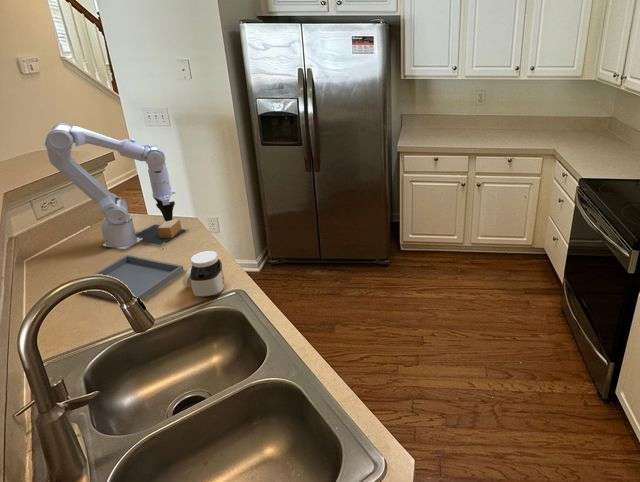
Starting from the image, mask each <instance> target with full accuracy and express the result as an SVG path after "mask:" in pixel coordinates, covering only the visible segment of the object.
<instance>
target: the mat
mask: <svg viewBox="0 0 640 482" xmlns="http://www.w3.org/2000/svg"><path fill="white" fill-rule="evenodd" d="M160 225H161V224H160ZM160 225H159V224H153V225H151V226H149V227H148V228H147V227H146V229H144V230H142V231H140V232H137V233H136V237H138V238H139V239H141V238H143V239H142V240H139V242H141V243H148V244H151V245H152V244H153V245H156V246H157V245H158V246H161V245H163V244H164V243H166V244H167V243H169V242H171V241H172V240H173V239H174V240H175V238H177V237H179V236H180V235H182V234H183V233H186V229H184V228H183V229H181V230H180V231H179V232H178V233H177V234H176V235H175V236H174V237H172V238H159V233H158V227H159V226H160ZM138 238H137V239H138Z"/></svg>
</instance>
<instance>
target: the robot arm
mask: <svg viewBox="0 0 640 482" xmlns="http://www.w3.org/2000/svg"><path fill="white" fill-rule="evenodd" d="M74 144H75V147H80V146H84V145H87V144H89V145H93V146H97V147H101V148H105V149H109V150H114V151H117V152H118V154H119V155H120V156H121V157H125V158H129V159H132V160H135V161H140V162H145V163H146V165H147V167H148V169H147V173H148V176H149V182H150V187H151V191H152V198H153V200H155V202H156V203H155V206H156V208H157V209H158V210H159V211H160V212H161V215H162V217H163V219H164V222H165V221H171V220H172V219H173V212H174V207H175V205H176V202H175V200H172V201H170V198H171V197H172V195H174V194H176V190H175V189H172V187H171V181H170V177H169V171H168V167H167V162H166V157H165V152H164V150H163V148H161V147H160V146H158V145H152V144H150V143H147V144H145V143H141V142H139V141H136V139H135V138H129V139H128V138H125V139H123V140H119V139H115V138H113V137H110V136H106V135H104V134H101V133H98V132H95V131H92V130H89V129H86V128H84V127H80V126H77V125H73V126H72V125H71V124H68V123H58V124H56V125H54V126H53V127H52V129H51V130H50V131H49V132H48V133H47V134H46V137H45V142H44V146H45V148H46V153H47V155H48V161H49V163H50V164H51V165H52V166H53V167H54V168H55V169H57V170H58V171H59V172H60V173H61V174H62V175H63V176H64V177H65V178H67V180H68V181H70V182H72V184H73V185H75V187H77V188H78V189H79V190H80V191H82V192H83V194H85V195H86V196H87V197H88V198H89V199H91V201H93V202H94V203H95V204H96V205H97V207H98V209H99V211H100V212H101V213H102V214H103V215H104V217H105V219H104V221H103V222H102V223H101V228H100V229H101V232H102V236H103V240H104V243H103V245H102V246H103V247H107V248H111V249H112V248H116V249H121V250H126V249H128V248H130V247H131V246H134V245H135V244H136V243H138V242H140V241H139V240H142V239H143V238H141V239H139V238H138V237H136V234H137V233H136V229H135V225H134V221H133V217H132V215H131V214H129V208H130V204H129V202H128V201H127V200H126V199H124V198H121V197H119V196H117V195H116V194H115V193H113V192H110V191H109V190H108V189H107V188H106V187H105V186H103V185H102V184H101V183H100V182H99V181H98V180H97V179H96V178H95V177H93V176H92V175H91V174H90V173H89V172H88V171H87V170H86V169H85V168H84V167H82V165H80V164H79V163H78V162H77V161H76V160H75V159H74V158H73V157H72V156H71V155H72V149H73V145H74ZM137 238H138V239H137Z"/></svg>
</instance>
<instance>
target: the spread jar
mask: <svg viewBox="0 0 640 482" xmlns="http://www.w3.org/2000/svg"><path fill="white" fill-rule="evenodd" d="M190 263H191V267H190V268H189V269H188V270H187V271H186V273H185V274H184V276H183V278H182V284H183V286H184V287H185V288H188V289H190V288H191V290H192V293H193V295H194V297H196V298H199V299H204V300H205V299H206V300H208V299H212V298H216V297H218V296H219V295H221V294H222V293H223V291H224V289H225V274H224V269H223V264H222V261H221V259H219V258H218V252H216V251H213V250H204V251H200V252H197V253H195V254H194V255H193V256H191V257H190Z"/></svg>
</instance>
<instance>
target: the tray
mask: <svg viewBox="0 0 640 482" xmlns="http://www.w3.org/2000/svg"><path fill="white" fill-rule="evenodd" d="M184 272H185V269H184V266H183V265H181V264H176V263H171V262H166V261H160V260H154V259H149V258H146V257H140V256H134V255H130V254H126V255H125V256H124V255H123V257H121V258H119V259H117V260H116V261H114V262H112V263H110V264H109V265H107V266H105V267H103V268H102V269H100V270H99V271H97V272H95V273H94V274H103V275H109V276H112V277H115V278H117V279H119V280H120V281H122V282H123V283H124V284H126V285H127V286H128V288H129V289H130V290H131V292H132V293H133V294H134V295H135V296H136V297H138V298H139V299H141V300H142V302H143V301H145V300H146V299H148V298H149V297H150V296H151V295H152V296H153V294H155V293H156V292H157V291H159V290H161V288H163V287H164V286H166V285H167V284H169V283H170V282H172V281H173V280H174V279H176V278H177V277H178V276H180V275H181V274H183V273H184ZM83 293H84V294H87V295H93V296H97V297H102V298H106V299H110V300H113V301H117V300H116V299H115V298H114V297H113V296H111V295H110V294H108V293H105V292H102V291H87V292H82V294H83Z"/></svg>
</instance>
